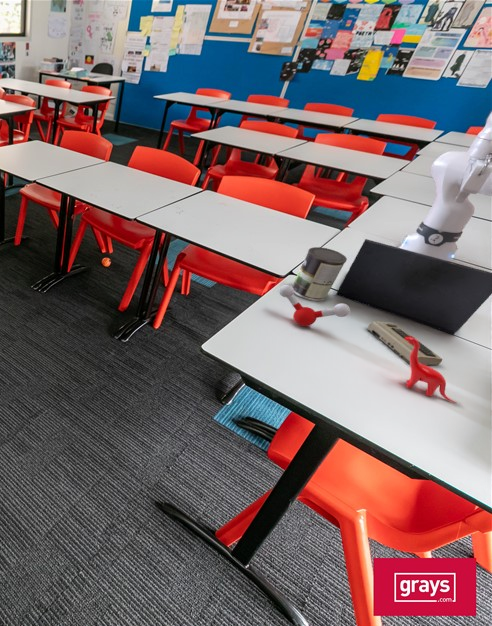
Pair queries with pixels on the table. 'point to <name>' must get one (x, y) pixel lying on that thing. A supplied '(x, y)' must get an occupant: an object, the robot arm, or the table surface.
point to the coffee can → (318, 273)
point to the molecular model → (308, 315)
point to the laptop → (397, 313)
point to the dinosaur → (424, 373)
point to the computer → (402, 342)
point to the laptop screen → (417, 284)
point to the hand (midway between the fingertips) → (458, 201)
